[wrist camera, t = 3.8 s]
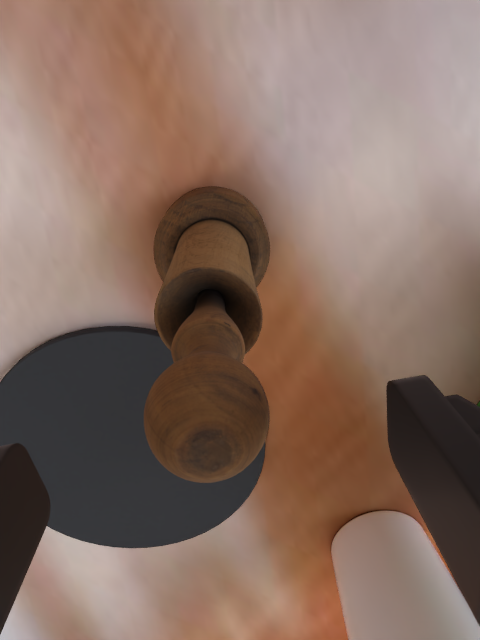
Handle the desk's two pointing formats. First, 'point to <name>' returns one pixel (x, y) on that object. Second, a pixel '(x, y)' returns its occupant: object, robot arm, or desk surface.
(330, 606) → the desk surface
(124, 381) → the disc
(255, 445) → the brown wooden turned piece
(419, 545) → the white cup
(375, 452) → the desk surface
